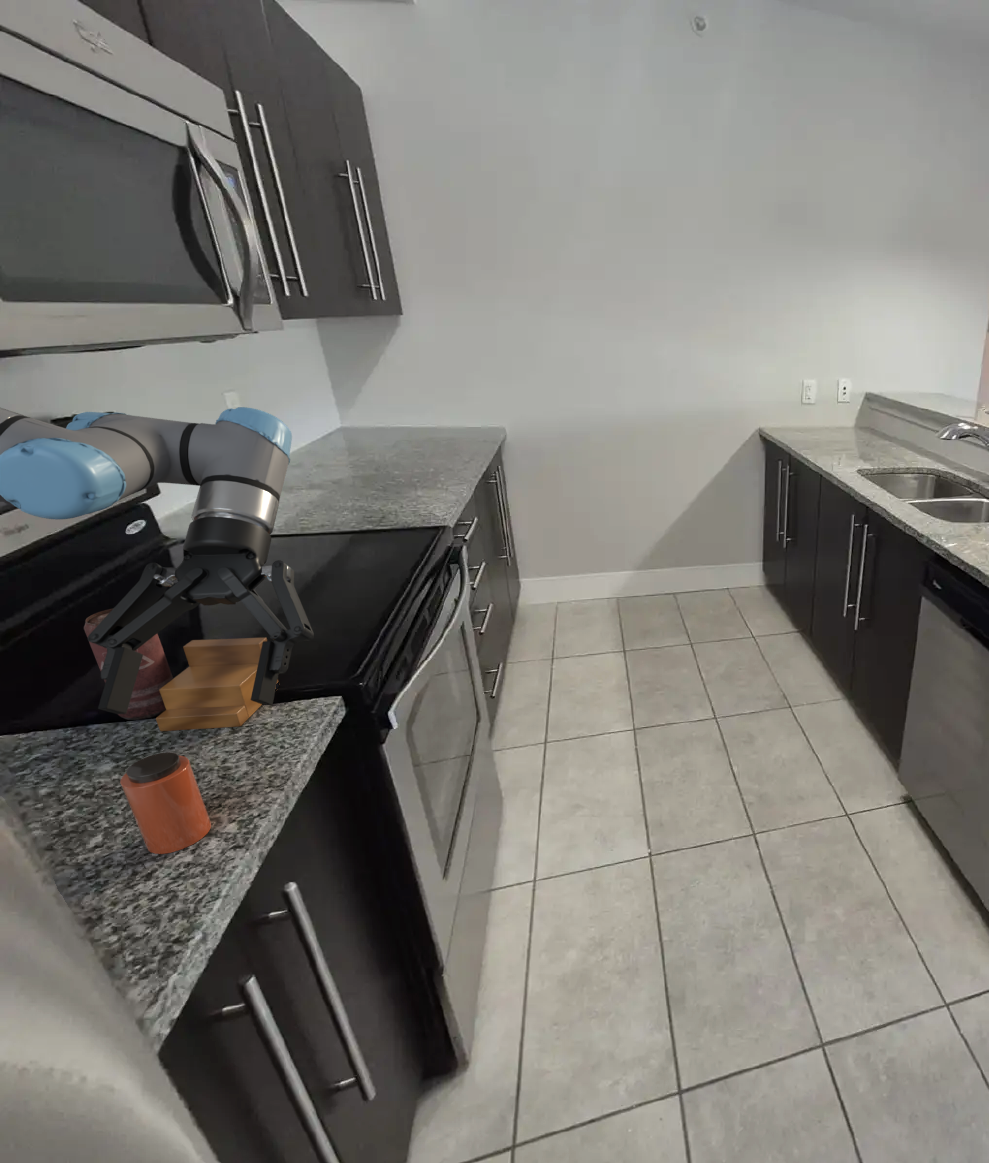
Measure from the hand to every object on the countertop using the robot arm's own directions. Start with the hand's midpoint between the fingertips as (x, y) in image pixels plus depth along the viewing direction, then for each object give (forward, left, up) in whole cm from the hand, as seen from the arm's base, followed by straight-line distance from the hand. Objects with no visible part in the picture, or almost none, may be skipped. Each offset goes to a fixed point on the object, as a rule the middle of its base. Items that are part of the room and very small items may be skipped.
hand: (188, 707), depth 67 cm
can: (-18, +20, -12) cm, 29 cm away
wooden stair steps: (-9, +19, -11) cm, 24 cm away
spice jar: (0, -6, -11) cm, 13 cm away
